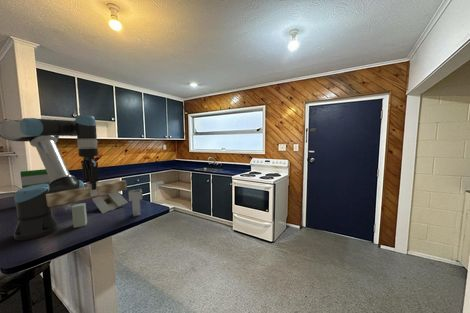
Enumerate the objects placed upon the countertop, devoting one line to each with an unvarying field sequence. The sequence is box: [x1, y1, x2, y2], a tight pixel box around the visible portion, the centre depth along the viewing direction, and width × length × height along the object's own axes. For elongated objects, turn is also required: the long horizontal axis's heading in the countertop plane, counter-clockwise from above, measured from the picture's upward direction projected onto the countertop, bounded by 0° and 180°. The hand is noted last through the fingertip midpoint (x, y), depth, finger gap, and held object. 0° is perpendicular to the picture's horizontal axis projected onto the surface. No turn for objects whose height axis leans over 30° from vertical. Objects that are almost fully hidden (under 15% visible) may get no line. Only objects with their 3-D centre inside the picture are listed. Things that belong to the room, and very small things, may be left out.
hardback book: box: [20, 168, 51, 189], centre depth 141 cm, size 18×7×24 cm, turn 137°
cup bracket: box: [128, 188, 143, 217], centre depth 116 cm, size 7×7×14 cm
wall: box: [91, 191, 129, 214], centre depth 130 cm, size 16×9×15 cm
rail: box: [46, 179, 128, 207], centre depth 95 cm, size 32×4×5 cm, turn 146°
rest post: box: [71, 202, 88, 229], centre depth 103 cm, size 5×5×11 cm
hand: (92, 195), depth 95 cm, fingers closed on rail, 3 cm apart
